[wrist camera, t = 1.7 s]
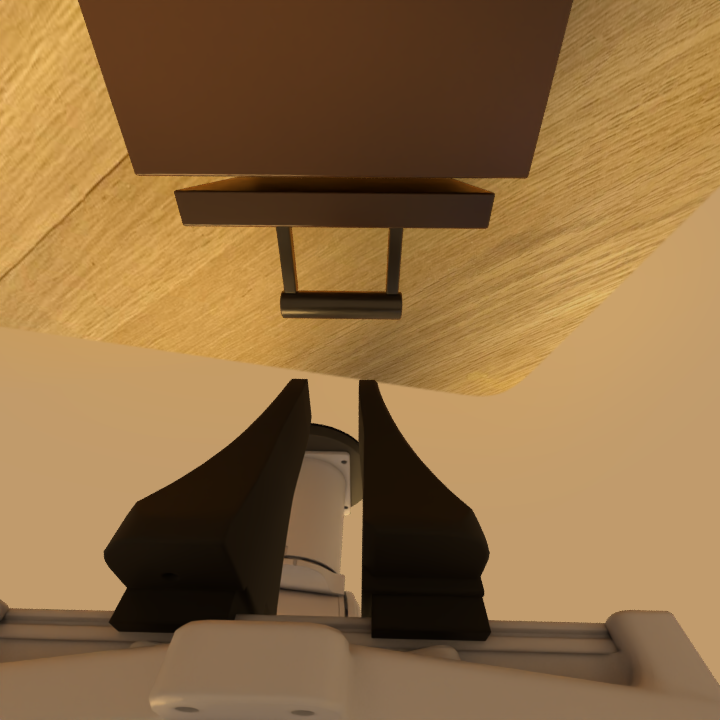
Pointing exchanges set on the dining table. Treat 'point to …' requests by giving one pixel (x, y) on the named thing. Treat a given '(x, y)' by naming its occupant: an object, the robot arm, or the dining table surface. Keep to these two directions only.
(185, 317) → the dining table surface
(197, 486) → the robot arm
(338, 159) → the brown drawer cabinet
